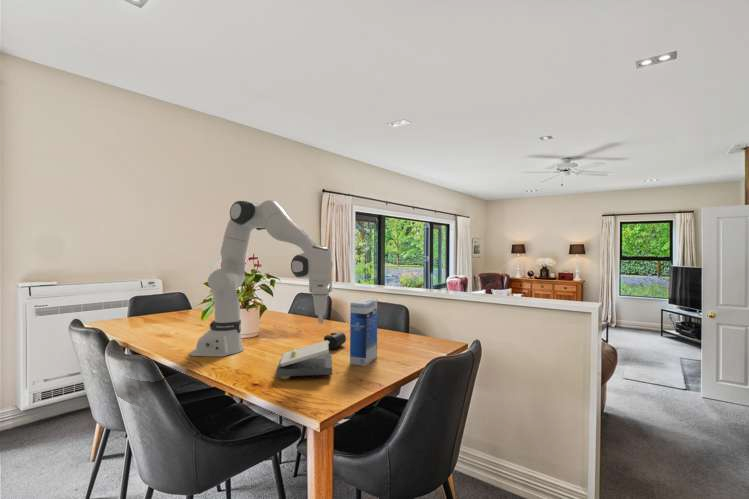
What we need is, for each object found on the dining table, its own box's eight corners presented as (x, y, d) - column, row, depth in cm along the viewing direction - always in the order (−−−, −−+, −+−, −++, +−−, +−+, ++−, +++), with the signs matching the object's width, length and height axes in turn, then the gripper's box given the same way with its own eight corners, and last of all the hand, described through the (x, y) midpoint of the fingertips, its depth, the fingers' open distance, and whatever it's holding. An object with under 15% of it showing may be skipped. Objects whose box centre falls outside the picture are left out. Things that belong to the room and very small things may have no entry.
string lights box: (362, 355, 165) (362, 298, 165) (378, 357, 162) (378, 299, 162) (349, 364, 153) (349, 302, 153) (366, 366, 150) (366, 303, 150)
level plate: (278, 367, 135) (276, 360, 135) (283, 356, 149) (281, 349, 148) (328, 352, 137) (326, 345, 137) (328, 342, 151) (326, 336, 151)
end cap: (336, 351, 172) (336, 336, 172) (323, 349, 175) (323, 335, 175) (346, 346, 181) (346, 332, 181) (333, 344, 184) (333, 331, 184)
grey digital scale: (276, 382, 133) (276, 369, 133) (282, 366, 150) (282, 355, 150) (332, 379, 135) (332, 367, 135) (331, 364, 153) (331, 353, 153)
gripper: (313, 284, 153) (313, 317, 153) (311, 290, 133) (311, 328, 133) (328, 284, 154) (328, 317, 154) (328, 290, 134) (329, 327, 134)
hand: (320, 322), depth 143 cm, fingers closed
